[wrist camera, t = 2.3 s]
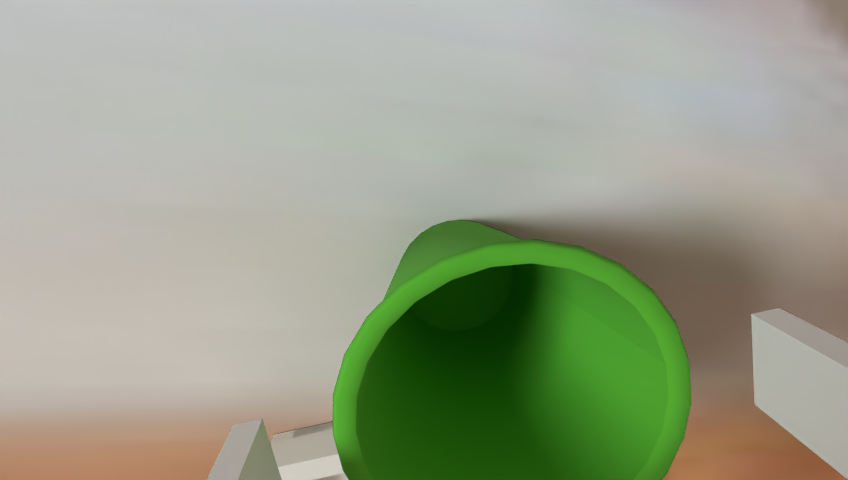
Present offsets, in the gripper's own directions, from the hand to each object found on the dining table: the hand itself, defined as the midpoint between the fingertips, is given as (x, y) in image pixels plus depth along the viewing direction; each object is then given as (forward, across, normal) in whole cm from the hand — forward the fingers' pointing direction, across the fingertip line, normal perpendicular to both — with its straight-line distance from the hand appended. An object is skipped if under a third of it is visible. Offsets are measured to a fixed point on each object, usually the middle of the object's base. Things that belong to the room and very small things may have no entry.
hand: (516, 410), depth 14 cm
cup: (+10, 0, 0) cm, 10 cm away
